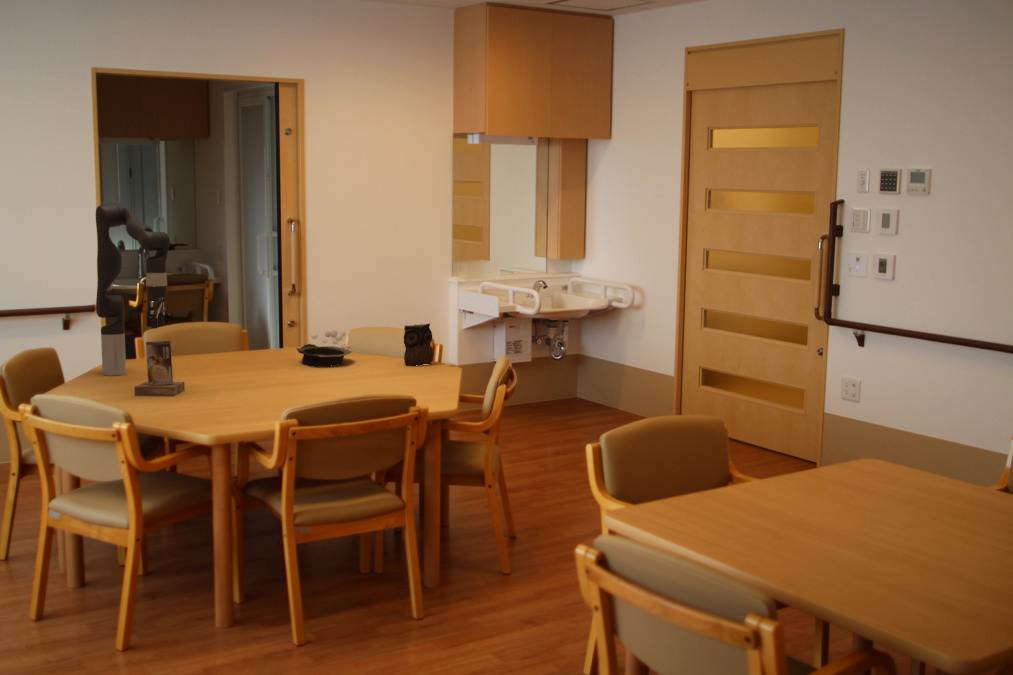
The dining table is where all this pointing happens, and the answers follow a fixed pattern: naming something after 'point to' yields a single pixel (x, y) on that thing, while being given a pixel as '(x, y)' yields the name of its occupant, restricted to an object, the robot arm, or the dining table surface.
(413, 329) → the owl
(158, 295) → the robot arm
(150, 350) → the coffee box
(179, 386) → the walnut base block
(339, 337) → the decorative flower
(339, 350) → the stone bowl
